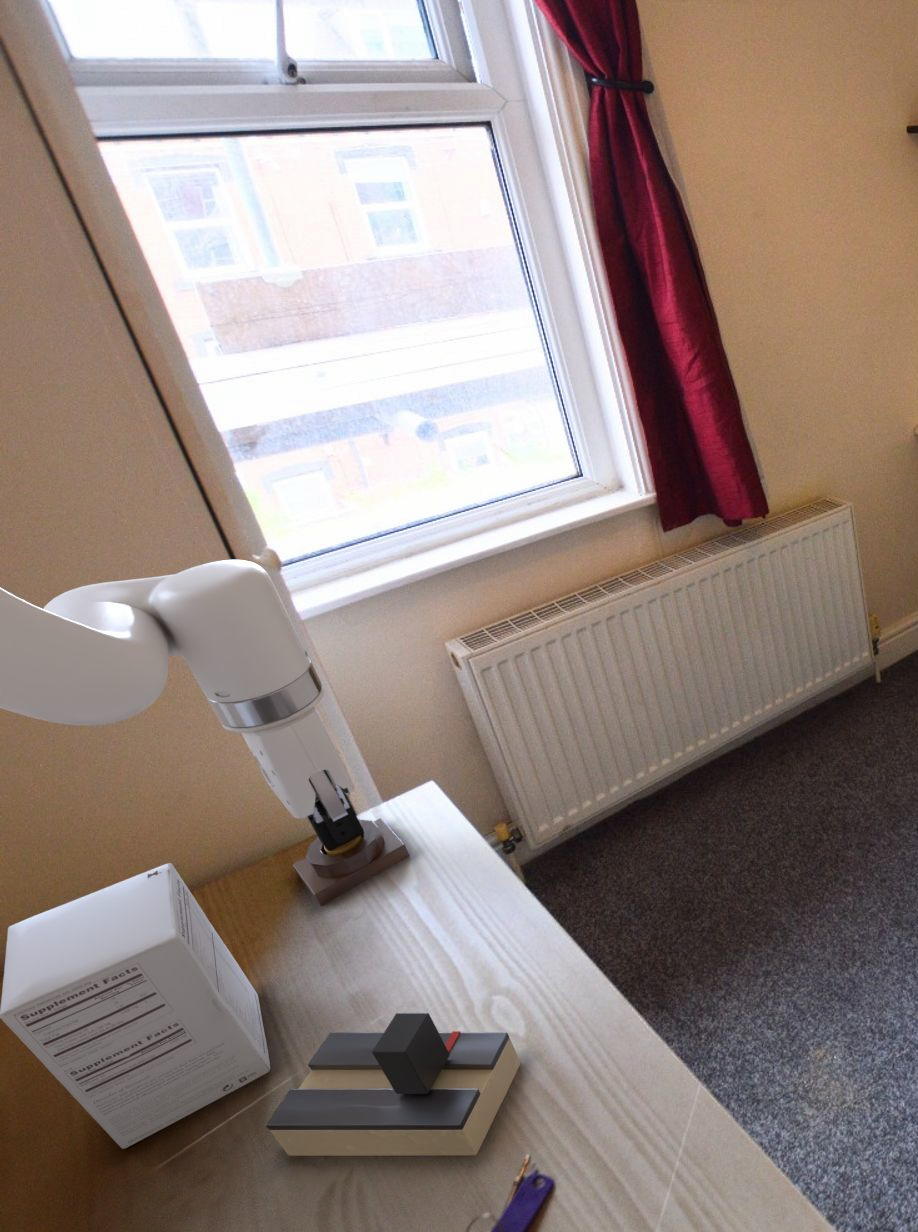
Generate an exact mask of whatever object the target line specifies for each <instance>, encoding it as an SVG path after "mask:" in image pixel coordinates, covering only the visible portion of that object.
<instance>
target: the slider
mask: <svg viewBox="0 0 918 1232" xmlns="http://www.w3.org/2000/svg"><path fill="white" fill-rule="evenodd" d="M372 1054H373V1055H374V1057H375V1059H376V1060H377V1062H378V1064H379V1065H380V1067H381V1069H382V1070H383V1072H384V1074H385V1076H386V1077H387V1079H388V1081H389V1082H390V1084H391V1086H392V1087H393V1089H394V1091H395V1092H396V1094H428V1093H429V1092H430V1090H431V1088H432V1086H433V1084H434V1083H435V1081H436V1079H437V1077H438V1076H439V1074H440V1072H441V1070H442V1068H443V1067H444V1065H445V1063H446V1061H447V1059H448V1058H449V1056H450V1054H449V1052H448V1050H447V1048H446V1046H445V1044H444V1042H443V1040H442V1038H441V1036H440V1034H439V1030H438V1028H437V1027H436V1025H435V1022H434V1021H433V1019H432V1017H431V1015H430V1013H429V1012H396V1013H395V1014H394V1016H393V1018H392V1019H391V1020H390V1022H389V1024H388V1026H387V1027H386V1029H385V1030H384V1033H383V1035H382V1037H381V1038H380V1040H379V1041H378V1043H377V1044H376V1046H375V1047H374V1049H373V1051H372Z"/></svg>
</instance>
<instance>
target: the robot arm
mask: <svg viewBox="0 0 918 1232" xmlns="http://www.w3.org/2000/svg"><path fill="white" fill-rule="evenodd" d="M292 621H293V620H291V617H290V615H289V613H288V611H287V609H286V607H285V605H284V602H283V600H282V599H281V596H280V594H279V592H278V590H277V587H276V586H275V584H274V582H273V579H272V577H270V574H269V573H268V571H266V570H265V568H263V567H262V566H261V565H259V564H257V563H255V562H252V561H248V560H244V559H223V560H215V561H211V562H206V563H203V564H198V565H195V566H193V567H190V568H187V569H183V570H182V571H179V572H177V573H175V574H174V573H173V574H168V575H160V576H153V577H152V576H151V577H143V578H135V579H126V580H115V581H106V582H100V583H92V584H87V585H83V586H79V587H76V588H72V589H70V590H68V591H65V592H62V593H61V594H58V595H57V596H55V597H54V598H53V599H51V600H50V601H48V603H46V605H44V607H43V608H42V607H39V606H37V605H35V604H32V603H30V602H29V601H26V600H25V599H22V598H20V597H18V596H16V595H14V594H13V593H11V592H9V591H7V590H5V589H4V588H2V587H0V709H2V710H4V711H8V712H12V713H15V714H17V715H21V716H25V717H29V718H32V719H37V720H40V721H46V722H49V723H54V724H62V725H69V726H80V727H81V726H82V727H83V726H84V727H92V726H104V725H110V724H114V723H119V722H122V721H124V720H128V719H130V718H133V717H135V716H137V715H138V714H141V713H142V712H144V711H145V710H147V709H148V708H149V707H150V706H152V705H153V704H154V703H155V702H156V701H157V699H158V698H159V697H160V696H161V695H162V693H163V691H164V690H165V687H166V685H167V682H168V675H169V668H170V666H169V663H170V662H169V661H170V657H172V656H177V657H181V658H182V659H183V660H184V661H185V663H186V665H187V667H188V669H189V670H190V672H191V673H192V675H193V677H194V679H195V680H196V682H197V683H198V685H199V687H200V689H201V691H202V692H203V694H204V696H205V699H206V700H207V702H208V703H209V705H210V707H211V709H212V711H213V713H214V714H215V716H216V718H217V719H218V721H219V723H220V725H221V726H222V728H223V729H224V730H225V731H228V732H232V733H237V734H241V736H242V737H243V739H244V741H245V743H246V745H247V747H248V749H249V751H250V753H251V755H252V756H253V758H254V760H255V762H256V763H257V766H258V768H259V770H260V772H261V774H262V776H263V778H264V780H265V782H266V783H267V785H268V786H269V788H270V789H271V790H272V791H273V793H274V795H275V796H276V797H277V798H278V800H279V801H280V802H281V804H282V805H283V806H284V807H285V808H286V810H287V811H288V812H289V814H290V815H291V816H292V817H293V818H294V819H297V820H305V819H306V818H307V819H308V821H309V823H310V824H311V826H312V828H313V830H314V832H315V834H316V836H317V838H318V837H319V839H320V841H321V843H322V844H323V845H324V846H325V848H326V849H327V850H328V851H332V850H334V849H336V848H338V847H340V846H342V845H344V844H346V843H347V842H349V841H351V840H353V839H355V838H357V837H359V836H361V835H362V834H363V833H364V830H363V828H362V826H361V824H360V822H359V820H358V819H359V818H358V816H357V814H356V812H355V810H354V808H353V806H352V804H351V803H350V801H348V799H347V797H346V796H347V795H348V796H352V794H353V793H354V790H355V786H354V783H353V780H352V778H351V776H350V773H349V771H348V768H347V767H346V764H345V762H344V760H343V757H342V756H341V754H340V751H339V750H338V747H337V745H336V743H335V742H334V739H333V737H332V736H331V733H330V731H329V729H328V727H327V725H326V724H325V721H324V719H323V718H322V716H321V714H320V711H319V710H318V708H317V705H318V704H319V703H320V702H321V701H322V700H323V697H324V696H325V687H324V686H323V684H322V682H321V679H320V677H319V676H318V673H317V671H316V669H315V667H314V664H313V663H312V661H311V659H310V656H309V655H308V652H307V650H306V648H305V647H304V644H303V642H302V641H301V637H300V636H299V634H298V631H297V630H296V627H295V625H294V623H293V622H292ZM345 795H346V796H345Z"/></svg>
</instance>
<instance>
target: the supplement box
mask: <svg viewBox="0 0 918 1232" xmlns="http://www.w3.org/2000/svg"><path fill="white" fill-rule="evenodd" d="M2 978H3V979H2V991H1V999H0V1000H1V1001H0V1019H1V1020H2V1021H3V1023H4V1024H5V1025H6V1026H7V1028H9V1029H10V1030H11V1031H12V1032H13V1034H15V1035H16V1036H17V1037H18V1039H19V1040H20V1041H21V1042H22V1043H23V1044H24V1045H25V1046H26V1047H27V1049H29V1051H31V1052H32V1053H33V1055H34V1056H35V1057H36V1058H37V1059H38V1060H39V1061H40V1062H41V1063H42V1064H43V1065H44V1066H45V1068H46V1069H47V1070H48V1071H49V1072H50V1073H51V1074H52V1076H54V1077H55V1079H56V1080H57V1081H58V1082H59V1083H60V1084H61V1085H62V1086H63V1087H64V1088H65V1089H66V1091H68V1093H70V1095H71V1096H72V1097H73V1098H74V1099H75V1100H76V1101H77V1102H78V1103H79V1104H80V1105H81V1106H82V1108H83V1109H84V1110H85V1111H86V1112H87V1113H88V1114H89V1115H90V1116H91V1117H92V1119H94V1121H96V1123H97V1124H98V1125H99V1126H100V1127H101V1128H102V1129H103V1130H104V1131H105V1132H106V1133H107V1135H108V1136H109V1137H110V1138H111V1140H113V1141H114V1142H115V1143H116V1144H117V1145H118V1146H119V1147H120V1148H121V1149H122V1150H125V1149H127V1148H129V1147H131V1146H133V1145H135V1144H137V1143H138V1142H141V1141H143V1140H145V1139H146V1138H148V1137H150V1136H152V1135H153V1134H156V1133H158V1132H159V1131H161V1130H163V1129H165V1128H167V1127H168V1126H171V1125H172V1124H174V1123H176V1122H178V1121H180V1120H182V1119H184V1118H186V1117H187V1116H189V1115H191V1114H193V1113H195V1112H197V1111H198V1110H201V1109H203V1108H204V1107H206V1106H208V1105H210V1104H212V1103H214V1102H215V1101H217V1100H219V1099H221V1098H224V1097H225V1096H226V1095H229V1094H232V1093H233V1092H234V1091H236V1090H238V1089H240V1088H242V1087H244V1086H246V1085H248V1084H249V1083H251V1082H253V1081H255V1080H257V1079H259V1078H261V1077H263V1076H264V1075H267V1074H268V1073H269V1072H270V1071H271V1063H270V1062H271V1061H270V1056H269V1055H270V1054H269V1049H268V1044H267V1043H268V1042H267V1038H266V1034H265V1029H264V1022H263V1017H262V1011H261V1005H260V1000H259V995H258V992H257V991H256V989H255V988H254V987H253V985H252V983H251V982H250V980H249V979H248V977H247V976H246V974H245V972H244V971H243V970H242V968H241V966H240V965H239V964H238V962H237V960H236V959H235V958H234V956H233V954H232V953H231V951H230V950H229V948H228V947H227V946H226V944H225V942H224V941H223V939H222V938H221V937H220V934H218V932H217V931H216V929H215V927H214V926H213V925H212V923H211V922H210V921H209V919H208V917H207V915H206V914H205V912H204V910H203V909H202V907H201V905H200V904H199V903H198V901H197V900H196V897H194V895H193V894H192V892H191V891H190V889H189V888H188V886H187V885H186V883H185V882H184V880H183V878H182V877H181V876H180V874H179V873H178V871H177V869H176V868H175V867H174V865H173V863H171V862H170V863H169V862H168V863H165V864H161V865H159V866H157V867H155V868H152V869H149V870H147V871H145V872H142V873H139V874H137V875H134V876H131V877H129V878H127V879H124V880H122V881H119V882H117V883H114V884H112V885H109V886H106V887H104V888H101V889H99V890H96V891H94V892H91V893H89V894H86V895H84V896H82V897H78V898H76V899H74V900H70V901H68V902H66V903H64V904H61V905H58V906H56V907H53V908H50V909H49V910H45V911H43V912H41V913H38V914H35V915H33V916H30V917H28V918H25V919H23V920H21V921H19V922H16V923H13V924H11V925H9V926H8V928H7V936H6V946H5V959H4V968H3V977H2Z"/></svg>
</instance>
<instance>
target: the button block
mask: <svg viewBox="0 0 918 1232" xmlns="http://www.w3.org/2000/svg"><path fill="white" fill-rule="evenodd" d="M358 820H359V822H360V824H361V826H362V828H363V830H364V833H363V834H362V835H361V836H362V838H363V839H362V841H361V842H360V843H359V844H358V845H357V846H356V847H355V848H353V849H351V850H349V851H347V852H345V853H342V854H338V855H334V856H330V855H327V853H326V851H325V849H324V845H323V844H322V843H321V841H320V839H319V837H318V836H317V837H316V838H315V839H314V840H313V841H312V842H311V843H310V844H309V845H308V848H307V851H306V854H305V857H303V858H302V859H300V860H297V861H296V862H293V863H292V867H293V869H294V870H295V872H296V874H297V876H298V877H299V880H301V881H302V883H303V885H304V886H305V887H306V888H307V890H308V891H309V893H310V894H311V895H312V897H313V898H314V899H315V900H316V902H317V903H318V905H319V906H320V907H323V906H324V905H326V904H327V903H329V902H331V901H333V900H334V899H336V898H338V897H340V896H342V895H343V894H345V893H347V892H348V891H351V890H352V889H354V888H356V887H358V886H359V885H361V884H363V883H365V882H367V881H368V880H370V879H372V878H374V877H375V876H377V875H378V874H381V873H383V872H384V871H386V870H387V869H389V868H391V867H393V866H395V865H396V864H398V863H400V862H401V861H404V860H406V859H407V858H410V856H411V855H410V853H409V851H408V848H407V846H406V844H405V843H404V842H403V841H402V840H401V838H400V837H399V836H398V835H397V833H395V832H394V830H393V829H392V828H391V827H390V826H389V825H388V824H387V823H386V822H385V820H384V819H383V818H382V817H379V818H377V819H375V820H369V819H359V818H358Z"/></svg>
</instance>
